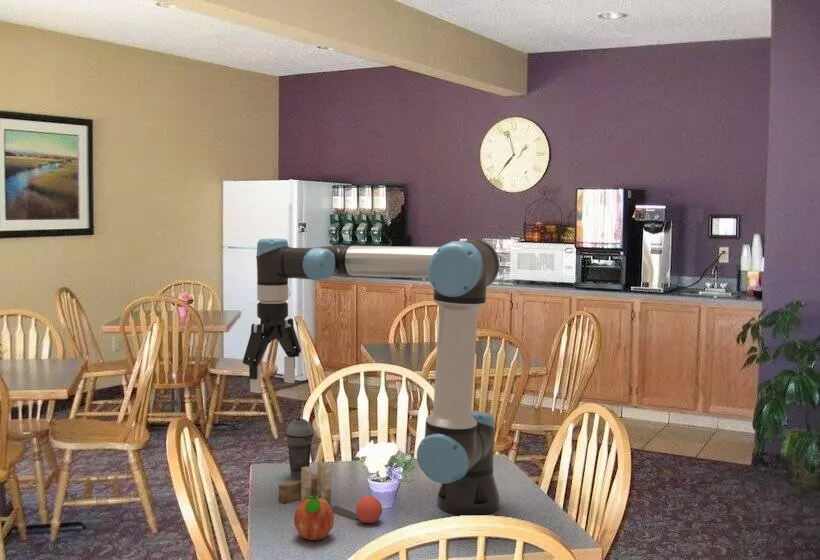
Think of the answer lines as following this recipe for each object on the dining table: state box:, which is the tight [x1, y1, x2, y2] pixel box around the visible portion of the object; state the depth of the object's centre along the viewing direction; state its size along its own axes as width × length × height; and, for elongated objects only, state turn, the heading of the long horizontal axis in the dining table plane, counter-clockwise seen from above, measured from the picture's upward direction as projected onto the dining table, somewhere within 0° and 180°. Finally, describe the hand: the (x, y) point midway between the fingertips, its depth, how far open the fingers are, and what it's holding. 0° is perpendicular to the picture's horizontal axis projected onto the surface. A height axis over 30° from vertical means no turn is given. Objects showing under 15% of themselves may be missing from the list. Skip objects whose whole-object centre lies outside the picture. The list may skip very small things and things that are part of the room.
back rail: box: [278, 474, 317, 504], centre depth 223 cm, size 12×2×4 cm, turn 136°
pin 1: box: [300, 466, 312, 503], centre depth 217 cm, size 2×2×9 cm
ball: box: [355, 495, 383, 524], centre depth 206 cm, size 6×6×6 cm
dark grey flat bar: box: [331, 505, 360, 521], centre depth 212 cm, size 10×3×1 cm, turn 46°
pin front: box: [321, 467, 332, 507], centre depth 216 cm, size 2×2×9 cm
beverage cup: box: [285, 402, 314, 480], centre depth 238 cm, size 7×7×20 cm
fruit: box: [293, 493, 335, 541], centre depth 196 cm, size 9×10×10 cm
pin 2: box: [316, 461, 328, 498], centre depth 221 cm, size 2×2×9 cm
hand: (273, 387), depth 223 cm, fingers open, 13 cm apart
